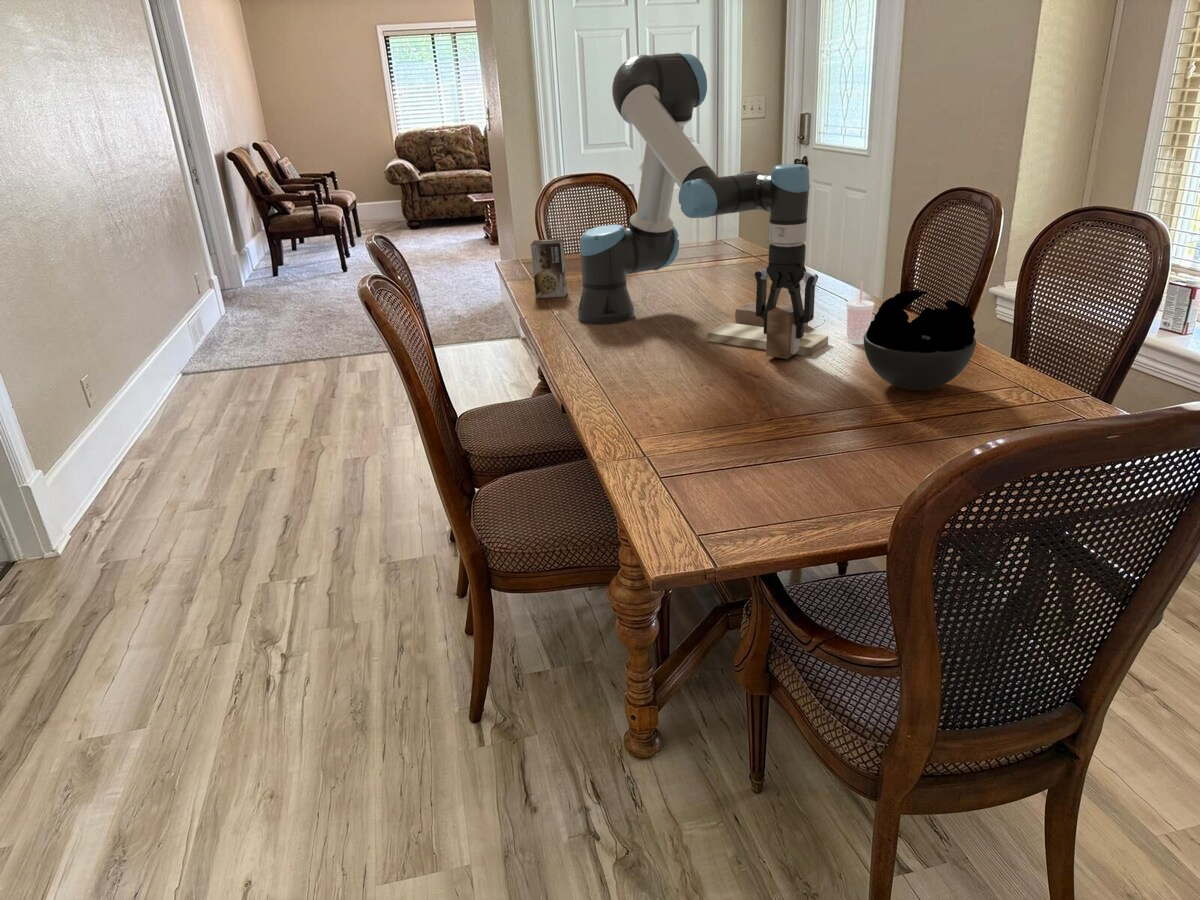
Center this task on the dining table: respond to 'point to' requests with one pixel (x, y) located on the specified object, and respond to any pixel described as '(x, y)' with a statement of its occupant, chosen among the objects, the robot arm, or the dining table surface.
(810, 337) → the board
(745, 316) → the brick
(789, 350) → the brown block with handle
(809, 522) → the dining table surface
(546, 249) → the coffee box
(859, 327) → the beverage cup
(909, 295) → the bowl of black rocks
